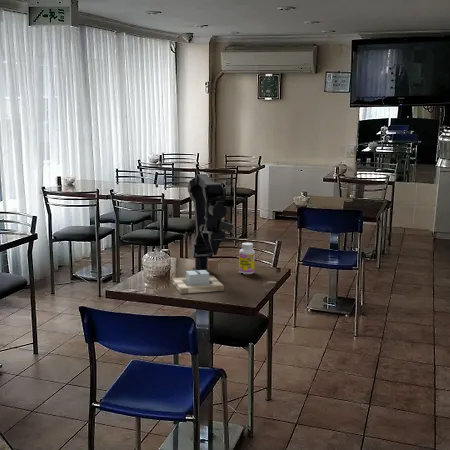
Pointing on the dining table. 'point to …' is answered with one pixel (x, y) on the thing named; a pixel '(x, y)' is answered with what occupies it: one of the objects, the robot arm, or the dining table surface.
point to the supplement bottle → (246, 259)
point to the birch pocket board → (197, 286)
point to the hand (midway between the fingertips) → (212, 252)
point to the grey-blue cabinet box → (197, 277)
